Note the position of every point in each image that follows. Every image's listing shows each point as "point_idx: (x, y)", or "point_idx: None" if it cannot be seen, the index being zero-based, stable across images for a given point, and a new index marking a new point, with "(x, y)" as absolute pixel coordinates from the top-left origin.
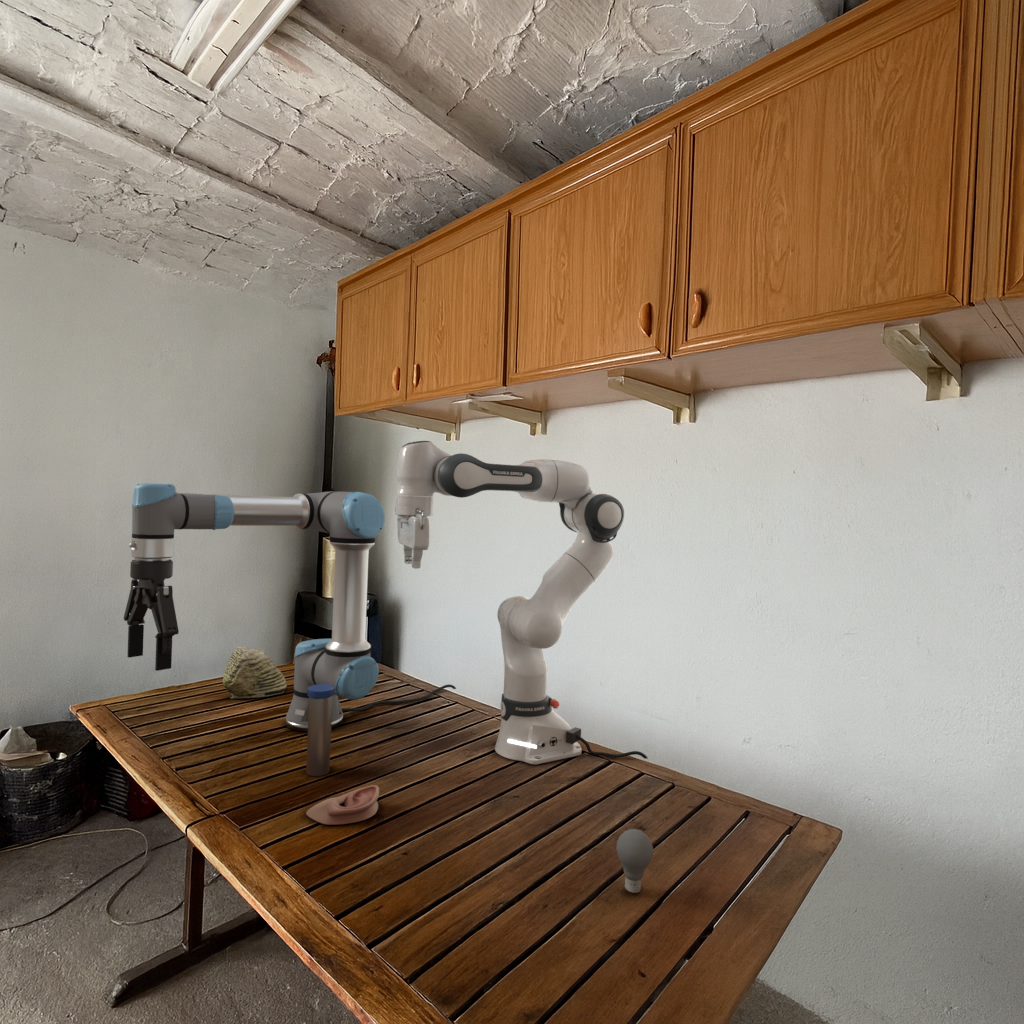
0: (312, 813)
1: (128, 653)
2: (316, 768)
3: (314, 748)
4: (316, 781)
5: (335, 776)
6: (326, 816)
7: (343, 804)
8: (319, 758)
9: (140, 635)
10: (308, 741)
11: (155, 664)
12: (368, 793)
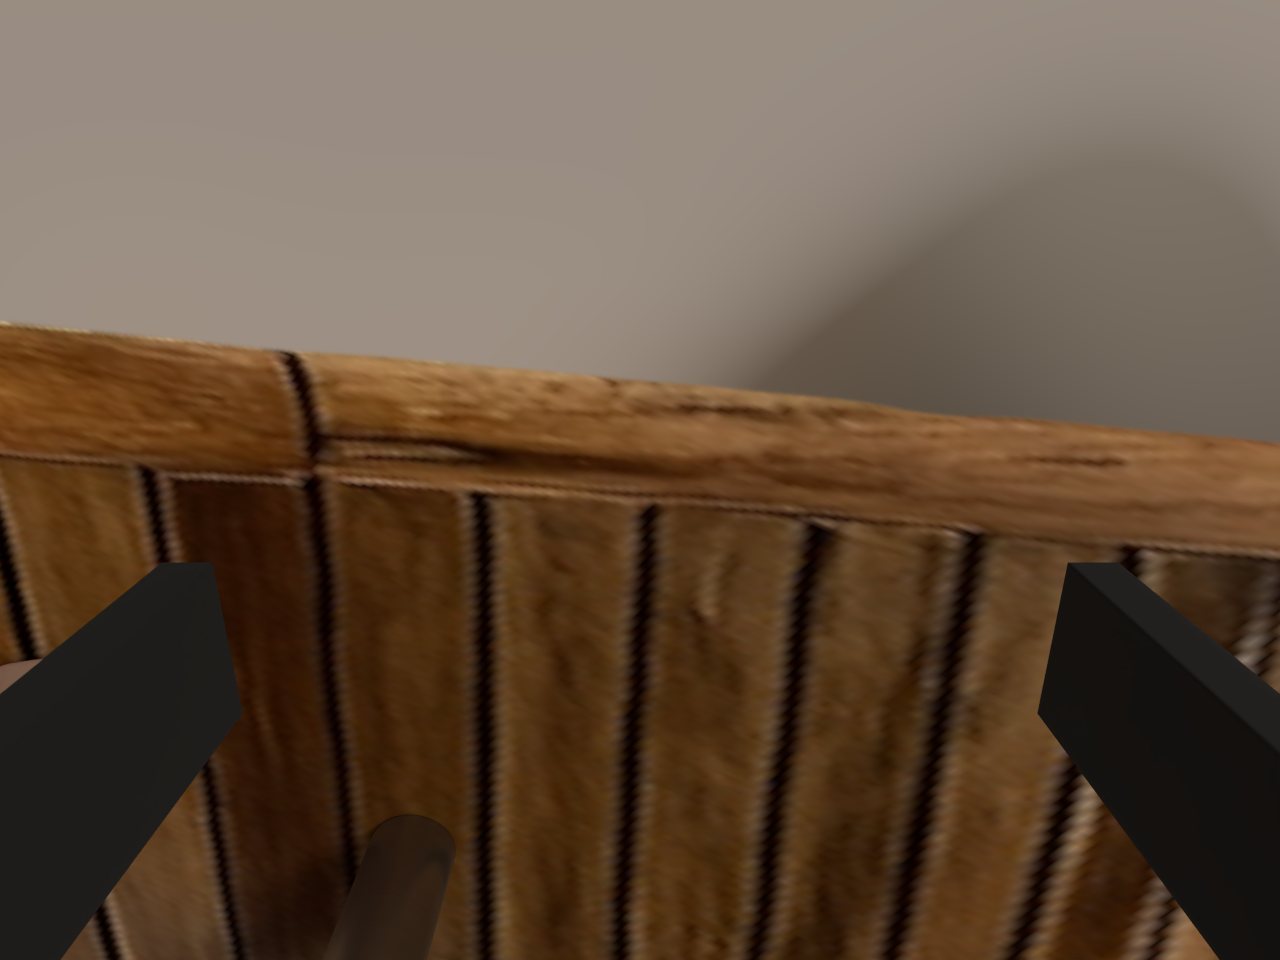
0: None
1: (1118, 589)
2: (369, 847)
3: (350, 907)
4: (339, 805)
5: (334, 862)
6: (3, 689)
7: None
8: (353, 885)
9: (1230, 913)
10: (379, 921)
11: (166, 597)
12: None
